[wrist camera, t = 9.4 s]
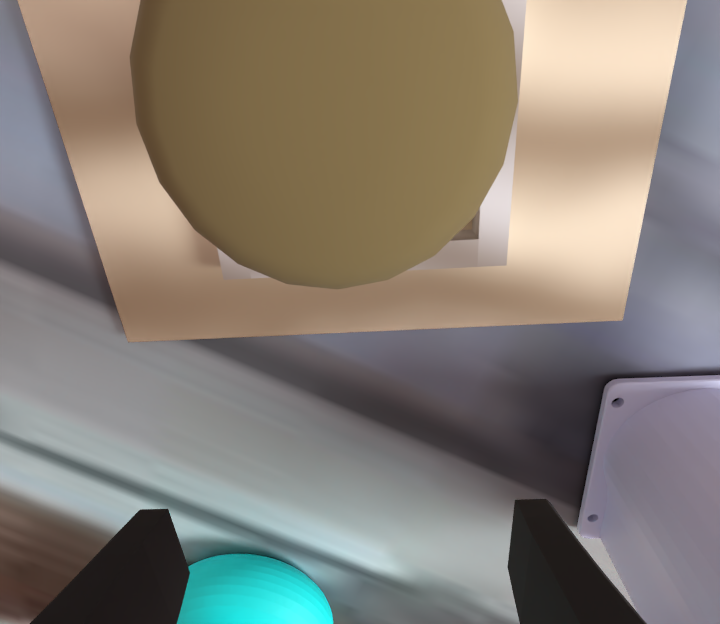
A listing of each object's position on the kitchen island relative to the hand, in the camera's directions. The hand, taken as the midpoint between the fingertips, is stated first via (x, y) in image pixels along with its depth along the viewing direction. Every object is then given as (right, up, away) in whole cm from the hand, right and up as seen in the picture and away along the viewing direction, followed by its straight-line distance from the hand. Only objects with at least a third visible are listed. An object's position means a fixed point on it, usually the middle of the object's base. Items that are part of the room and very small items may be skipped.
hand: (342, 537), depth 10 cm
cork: (0, +12, +5) cm, 13 cm away
